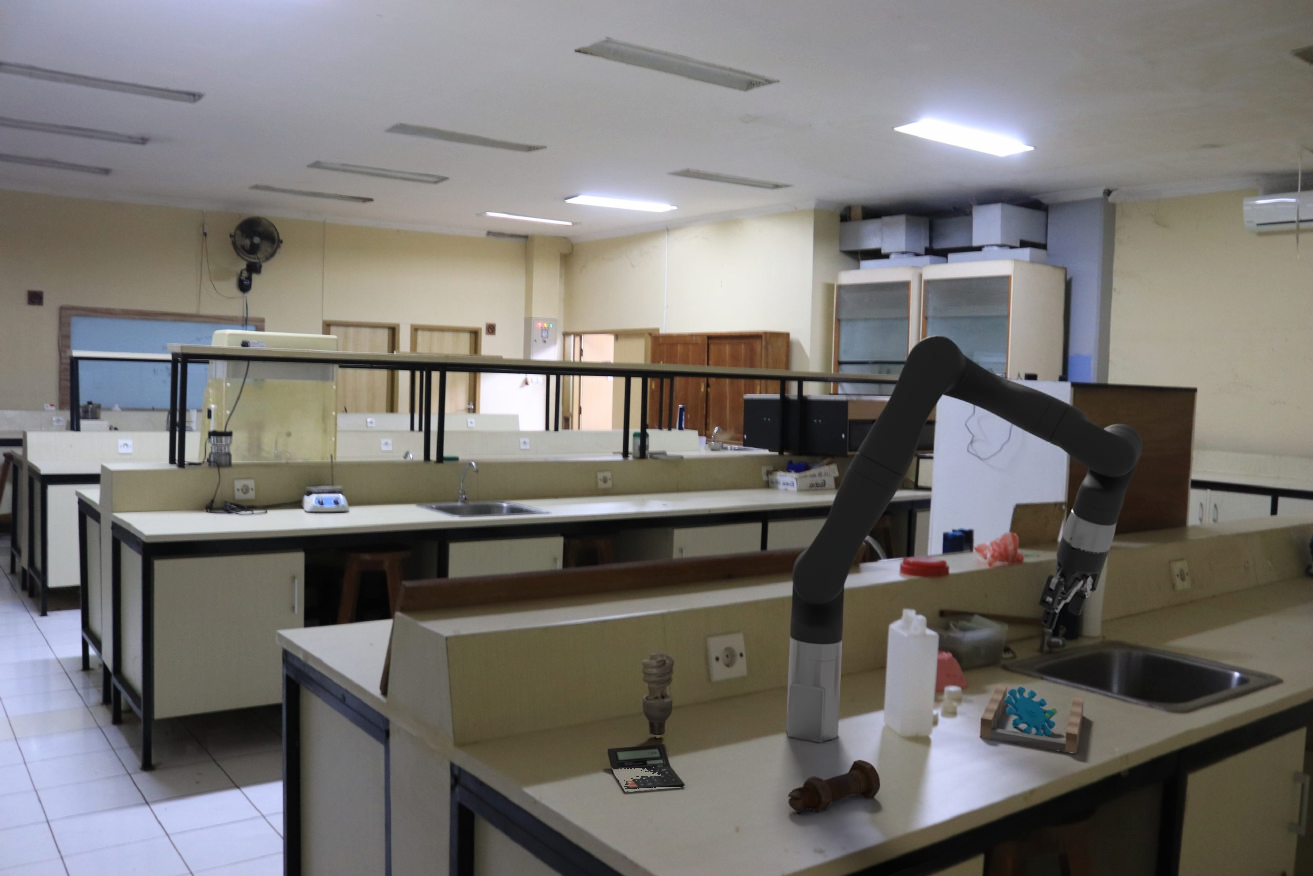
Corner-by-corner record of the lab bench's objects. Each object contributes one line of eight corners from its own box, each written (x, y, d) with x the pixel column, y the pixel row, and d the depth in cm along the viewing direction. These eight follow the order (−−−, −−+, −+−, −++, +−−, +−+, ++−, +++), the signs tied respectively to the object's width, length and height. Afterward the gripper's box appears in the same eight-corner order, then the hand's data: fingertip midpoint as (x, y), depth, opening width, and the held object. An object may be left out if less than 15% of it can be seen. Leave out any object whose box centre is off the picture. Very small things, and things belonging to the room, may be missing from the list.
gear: (1020, 733, 174) (1001, 683, 181) (1001, 748, 178) (983, 698, 185) (1070, 737, 178) (1049, 687, 184) (1050, 752, 182) (1031, 702, 188)
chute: (1076, 754, 169) (1077, 734, 169) (979, 737, 176) (980, 718, 176) (1082, 715, 191) (1083, 697, 191) (996, 701, 198) (997, 684, 198)
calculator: (624, 794, 147) (625, 775, 146) (607, 766, 158) (607, 747, 158) (684, 789, 149) (685, 770, 149) (662, 761, 160) (663, 743, 160)
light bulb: (658, 745, 166) (661, 658, 166) (633, 738, 170) (635, 652, 169) (677, 737, 171) (680, 652, 170) (652, 729, 174) (655, 646, 174)
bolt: (789, 825, 142) (863, 800, 150) (810, 819, 138) (885, 795, 146) (777, 784, 144) (850, 762, 152) (797, 777, 140) (871, 755, 148)
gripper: (1088, 519, 170) (1063, 598, 177) (1043, 538, 162) (1018, 620, 169) (1129, 539, 165) (1101, 619, 172) (1084, 559, 157) (1057, 643, 163)
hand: (1060, 620), depth 170 cm, fingers open, 8 cm apart
